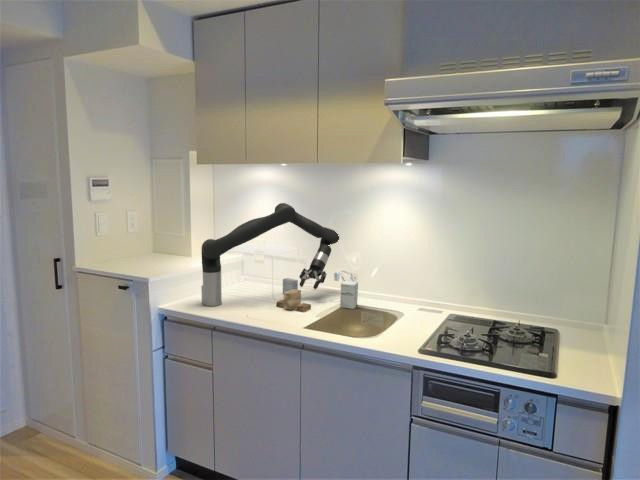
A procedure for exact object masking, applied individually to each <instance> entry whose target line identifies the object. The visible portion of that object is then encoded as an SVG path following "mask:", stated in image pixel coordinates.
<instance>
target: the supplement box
mask: <svg viewBox="0 0 640 480" xmlns="http://www.w3.org/2000/svg"><path fill="white" fill-rule="evenodd" d="M358 290H359V282H357V281H350V280H344V281H342V282H341V283H340V296H339V297H340V301H339V302H340V303H339V307H340V308H344V309H345V308H346V309H350V310H351V309H352V310H354V309H355V308H356V307H357V306H358V296H359V295H358V293H359V291H358ZM356 305H357V306H356Z"/></svg>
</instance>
